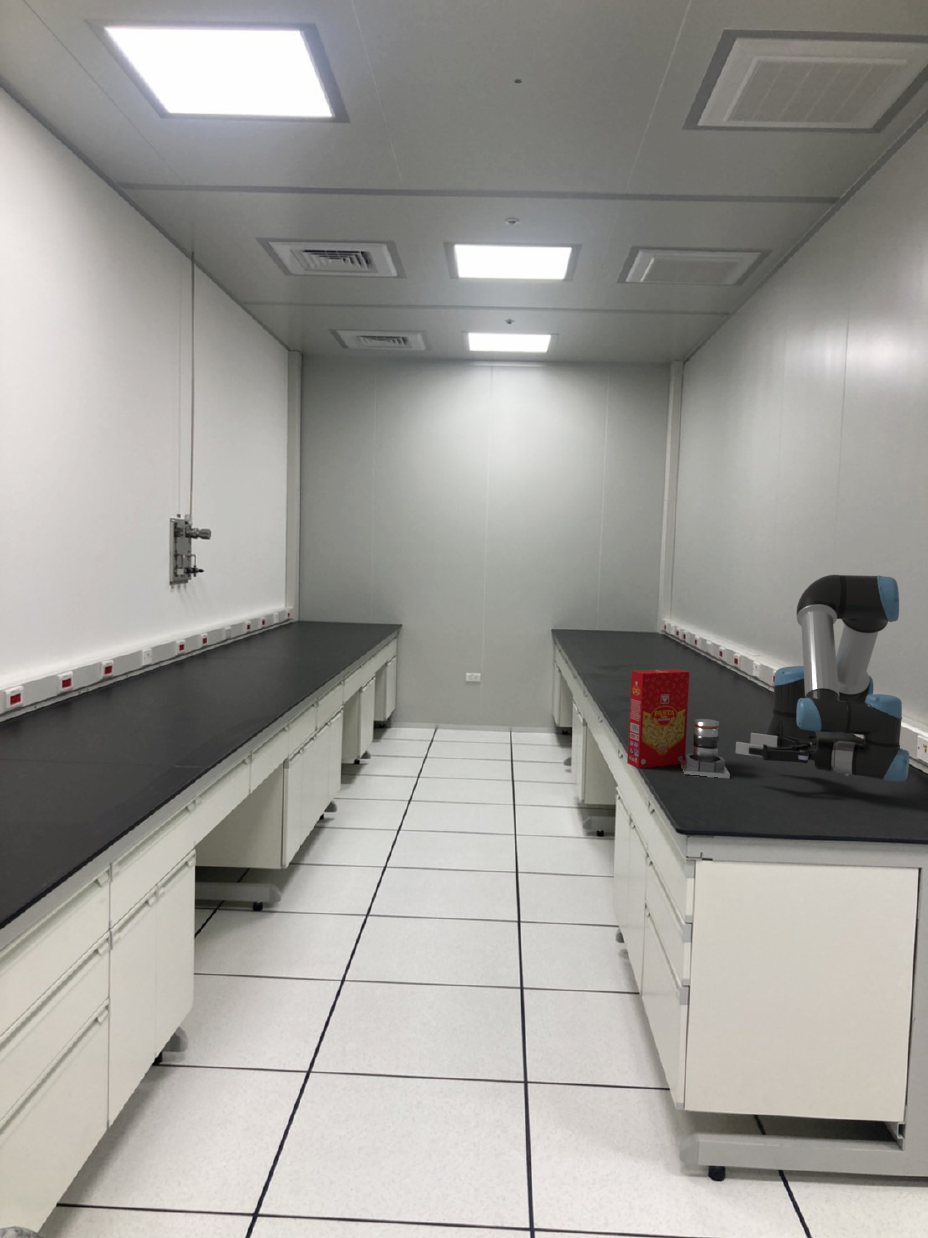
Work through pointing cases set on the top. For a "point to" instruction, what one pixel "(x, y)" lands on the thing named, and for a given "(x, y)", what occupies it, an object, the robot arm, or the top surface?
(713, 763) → the mount
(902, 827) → the top surface
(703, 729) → the lens
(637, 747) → the food packaging
